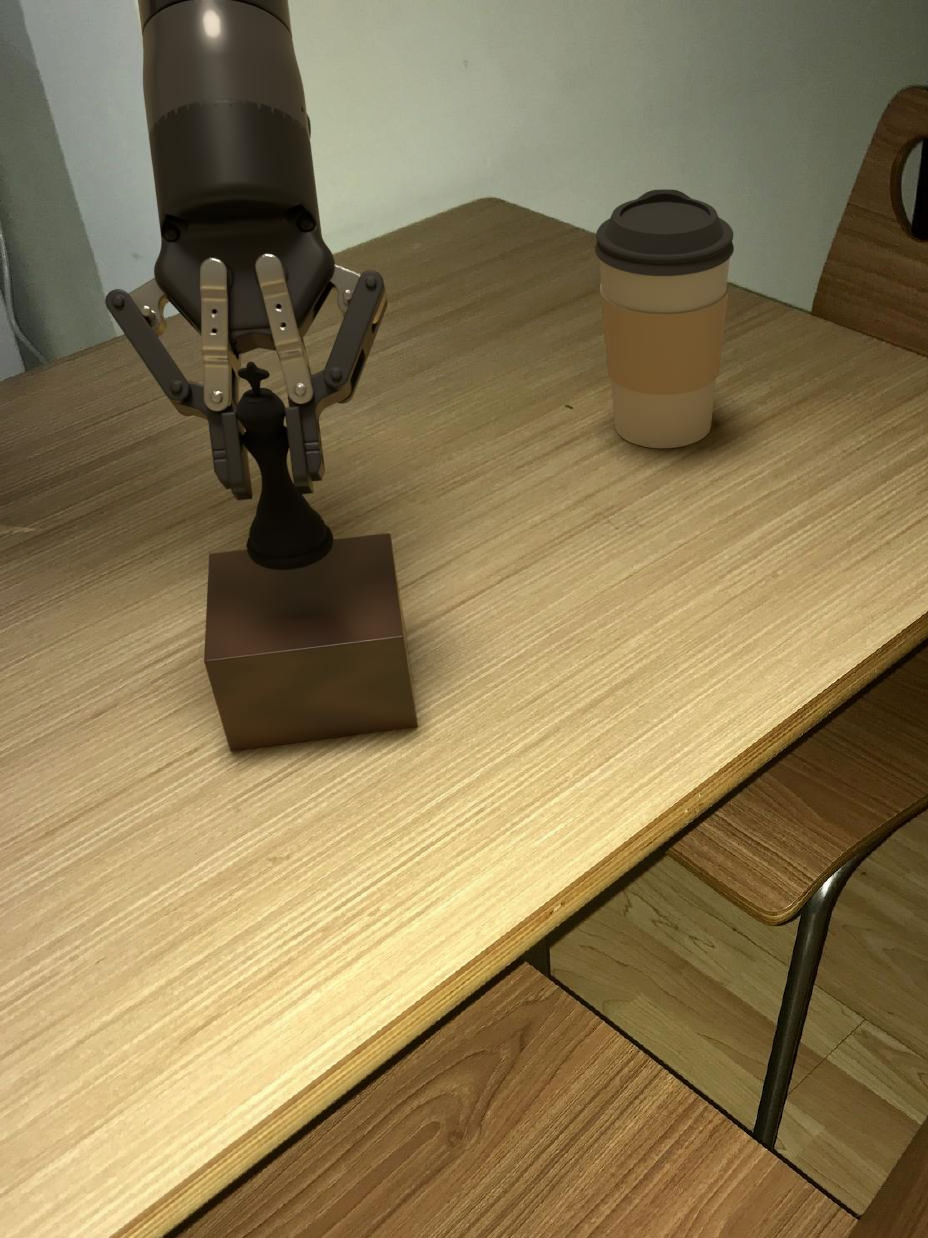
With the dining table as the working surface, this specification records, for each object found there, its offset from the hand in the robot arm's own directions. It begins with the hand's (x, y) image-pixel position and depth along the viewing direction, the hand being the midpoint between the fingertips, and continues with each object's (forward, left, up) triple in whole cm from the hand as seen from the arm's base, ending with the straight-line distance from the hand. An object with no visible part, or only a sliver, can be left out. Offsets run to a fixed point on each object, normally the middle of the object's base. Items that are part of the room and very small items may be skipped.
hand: (273, 491), depth 64 cm
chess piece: (-1, +2, -5) cm, 5 cm away
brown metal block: (-1, +2, -13) cm, 13 cm away
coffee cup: (+14, +34, -13) cm, 39 cm away
